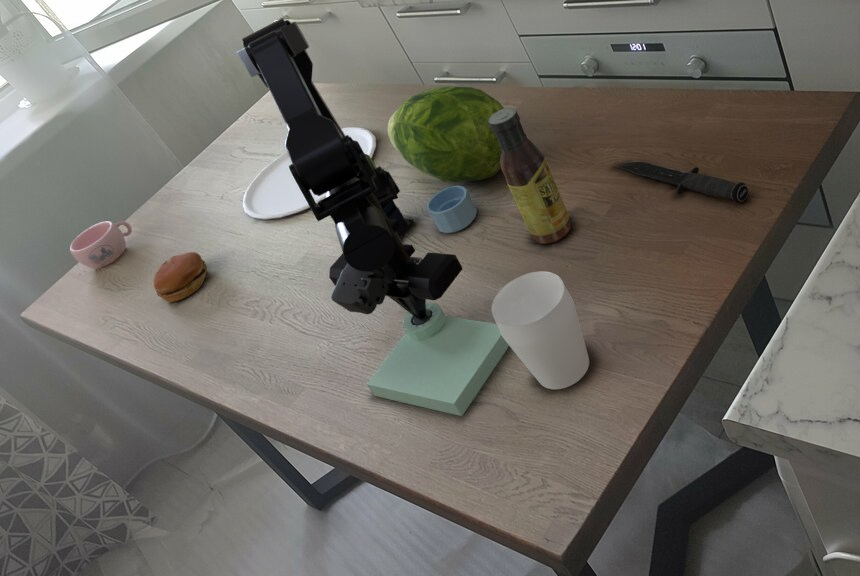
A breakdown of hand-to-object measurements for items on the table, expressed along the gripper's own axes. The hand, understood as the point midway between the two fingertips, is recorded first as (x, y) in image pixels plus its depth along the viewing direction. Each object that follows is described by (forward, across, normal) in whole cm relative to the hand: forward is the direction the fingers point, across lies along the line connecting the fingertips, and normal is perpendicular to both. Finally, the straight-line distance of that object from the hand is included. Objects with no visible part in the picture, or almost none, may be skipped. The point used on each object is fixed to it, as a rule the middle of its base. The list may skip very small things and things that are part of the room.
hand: (421, 316), depth 112 cm
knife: (+4, +22, +34) cm, 41 cm away
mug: (+4, -94, +7) cm, 94 cm away
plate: (+4, -58, +34) cm, 68 cm away
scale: (+4, +5, -4) cm, 8 cm away
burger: (+4, -62, +2) cm, 62 cm away
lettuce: (+4, -20, +36) cm, 42 cm away
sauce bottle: (+4, +7, +22) cm, 24 cm away
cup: (+4, +22, -2) cm, 22 cm away
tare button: (+1, 0, 0) cm, 1 cm away
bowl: (+4, -12, +24) cm, 27 cm away
